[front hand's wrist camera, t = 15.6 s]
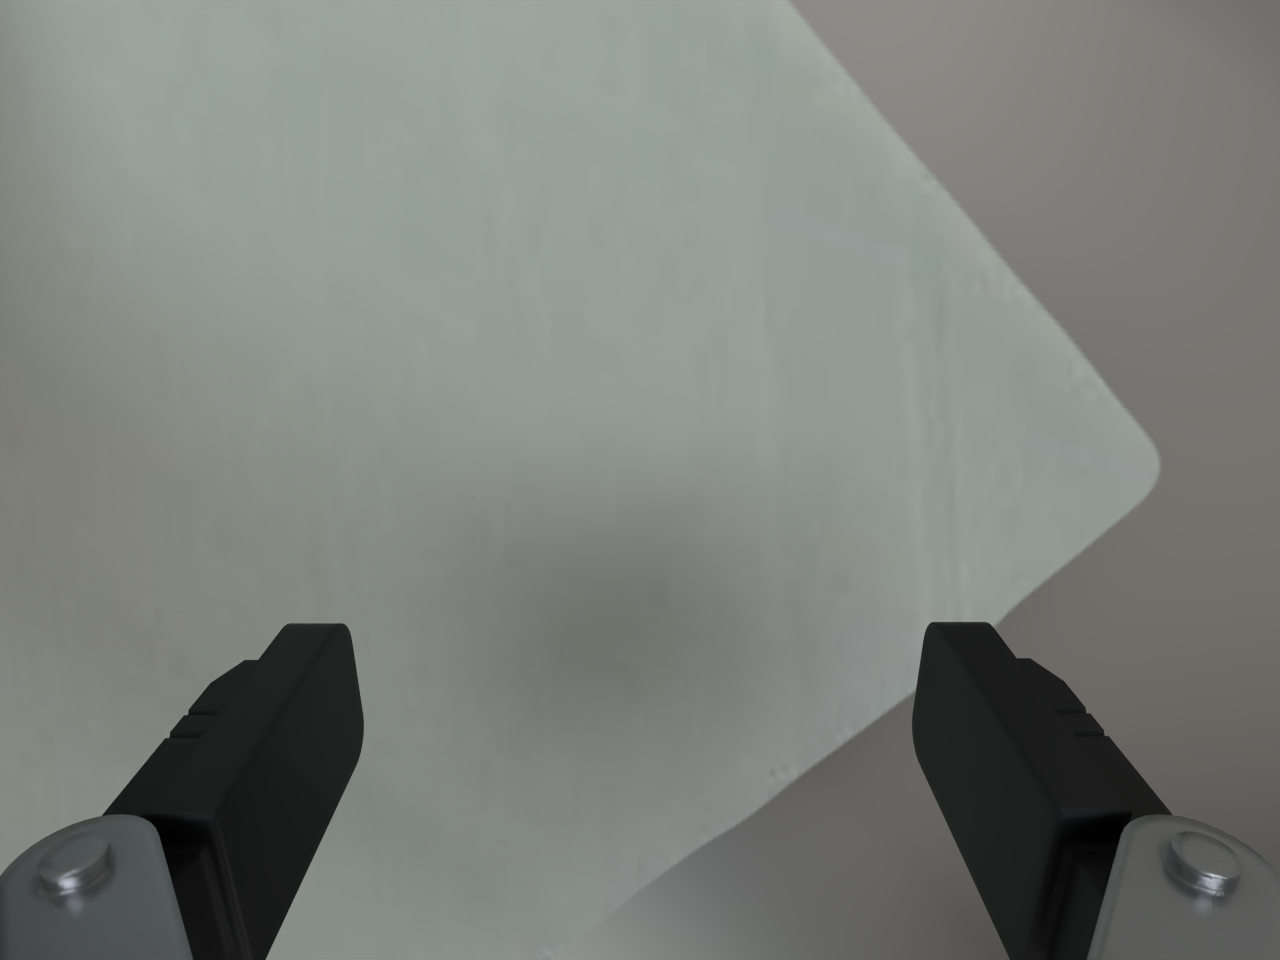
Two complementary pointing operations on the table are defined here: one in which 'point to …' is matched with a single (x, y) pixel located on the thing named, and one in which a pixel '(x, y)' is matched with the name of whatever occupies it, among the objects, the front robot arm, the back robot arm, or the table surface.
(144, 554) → the table surface
